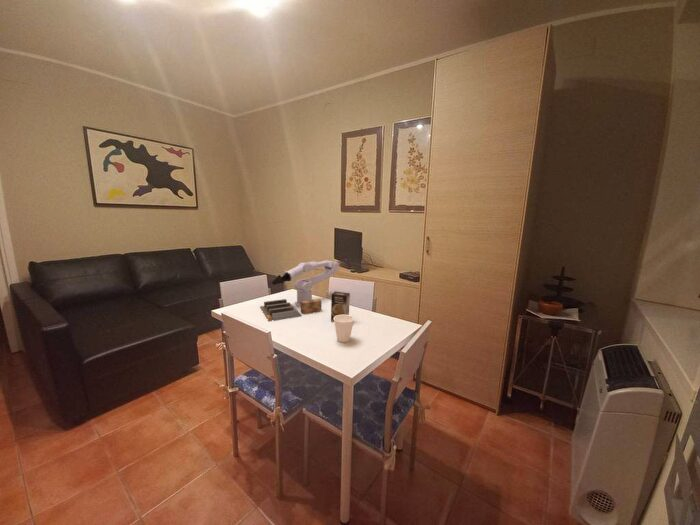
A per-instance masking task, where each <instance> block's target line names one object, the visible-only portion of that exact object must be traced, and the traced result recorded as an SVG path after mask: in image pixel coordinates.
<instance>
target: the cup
mask: <svg viewBox="0 0 700 525" xmlns="http://www.w3.org/2000/svg"><path fill="white" fill-rule="evenodd" d="M333 319H334V328H335V332H336V334H335V335H336V340H337V341H338V342H340V343H347V342H349V341H350V339H351V335H352V329H353V325H354V321H355V317H354V316H353V315H351V314H349V315H337V316H335V317H334V318H333Z"/></svg>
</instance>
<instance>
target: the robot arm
mask: <svg viewBox="0 0 700 525" xmlns="http://www.w3.org/2000/svg"><path fill="white" fill-rule="evenodd" d="M319 268H323V272H320V273H318V274H316V275H313V276H310V277H309V278H303V279H297V280H296V281H295V282H294V288H295V289H296V301H295V302H294V303H295V304H296V306H298V307H301V304H300V301H307V300H313V293H312V292H313V291H312V290H311V289H312V288H313V286H314V285H317V284H319V283H322V282H324V281H325V280H328V279H330V278H331V277H332V276H333V275H334V274H335V273H336V272H338V271H339V268H340V263H339V262H338V261H333V260H329V259H328V260H323V261H322V260H321V261H318V262H317V261H315V260H311V261H306V262H299V263H298V265H296V266H294V267H293V268H290V269H289V270H283V274H282V275H281V274H279V275H277V277H276V278H275V279H274V280H273V281H272V282H271V283H272V285H273V286H275V285H278V284H285V282H290V281H292V280H293V279H295V278H297V277H299V276H300V275H302V274H304V273H309V272H311V271H316V270H317V269H319Z"/></svg>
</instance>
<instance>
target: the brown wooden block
mask: <svg viewBox="0 0 700 525" xmlns="http://www.w3.org/2000/svg"><path fill="white" fill-rule="evenodd" d="M300 304H301V306H300V314H301V315H307V314H313V312H315V313H320V311H321V312H322V300H321V299H320V298H317V299H315V298H314V299H312V300H307V301H300Z"/></svg>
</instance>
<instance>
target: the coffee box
mask: <svg viewBox="0 0 700 525" xmlns="http://www.w3.org/2000/svg"><path fill="white" fill-rule="evenodd" d="M350 294H351V293H350V292H343V291H333V292H332V293H331V299H330V300H331V302H330V304H331V305H330V307H331V309H330V322H334V319H333V318H334V317H335V316H337V315H350V299H351V298H350V297H351V295H350Z"/></svg>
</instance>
